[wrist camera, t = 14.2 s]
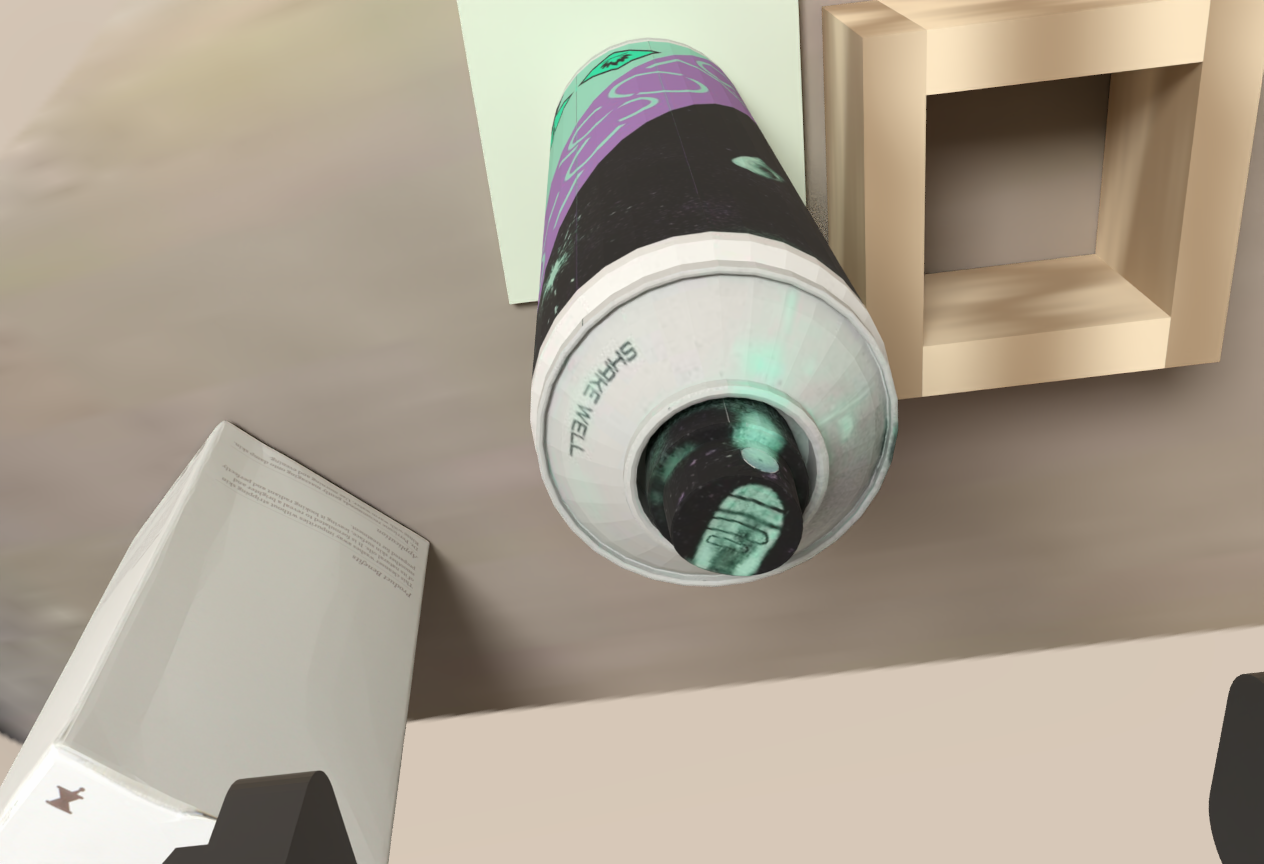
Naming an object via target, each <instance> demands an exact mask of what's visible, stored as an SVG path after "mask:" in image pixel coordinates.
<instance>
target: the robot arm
mask: <svg viewBox="0 0 1264 864" xmlns="http://www.w3.org/2000/svg"><path fill="white" fill-rule="evenodd" d="M1209 817H1210V825H1211V830H1212V834H1213V839H1214V842H1215V845H1216V848H1217V851H1218V854H1219V857H1220V859H1221V861H1222V864H1264V672H1259V673H1250V674H1242V675H1240V676H1238V677H1237V678H1236V679H1235V680H1234V681H1233V683H1232V685H1231V687H1230V691H1229V695H1228V700H1227V705H1226V711H1225V716H1224V721H1223V727H1222V732H1221V737H1220V743H1219V748H1218V753H1217V759H1216V764H1215V770H1214V775H1213V780H1212V785H1211V790H1210V798H1209ZM162 864H357V862H356V859H355V855H354V852H353V849H352V846H351V843H350V840H349V837H348V834H347V831H346V827H345V824H344V821H343V818H342V815H341V812H340V809H339V806H338V803H337V800H336V796H335V793H334V790H333V787H332V785H331V782H330V780H329V778H328V776H327V775H326V774H325V772H323V771H321V770H320V771H309V772H300V773H290V774H281V775H272V776H262V777H253V778H244V779H238V780H236V781H235V782H234V783H233V784H232V785H231V786H230V788H229V790H228V792H227V794H226V796H225V799H224V801H223V804H222V807H221V810H220V812H219V815H218V818H217V821H216V823H215V826H214V829H213V831H212V834H211V837H210V840H209V842H208V844H206V845H197V846H187V847H178V848H175V849H174V850H173V851H172V853H171V854H170V855H169V856H168V857H167V859H166V860H165V861H164V862H163V863H162Z"/></svg>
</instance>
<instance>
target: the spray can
mask: <svg viewBox="0 0 1264 864" xmlns="http://www.w3.org/2000/svg"><path fill="white" fill-rule="evenodd" d="M530 422H531V428H532V433H533V438H534V443H535V448H536V453H537V456H538V461H539V466H540V472H541V477H542V479H543V482H544V484H545V486H546V489H547V491H548V493H549V495H550V498H551V500H552V502H553V505H554V506H555V508H556V509H557V510H558V512H559V513H560V515H561V516H562V517H563V519H564V520H565V522H566V523H567V524H568V526H569V527H570V528H571V530H572V531H573V532H574V533H575V534H576V535H577V536H579V537H580V538H581V539H582V540H583V541H584V542H585V543H586V544H587V545H588V546H590V547H591V548H592V549H593V550H594V551H595V552H597V553H598V554H600V555H602V556H603V557H605V558H607V559H608V560H610V561H611V562H613V563H615V564H616V565H618V566H620V567H621V568H624V569H626V570H629V571H631V572H634V573H637V574H639V575H642V576H644V577H647V578H650V579H653V580H658V581H663V582H668V583H673V584H678V585H683V586H712V587H717V586H725V585H733V584H741V583H748V582H752V581H756V580H759V579H762V578H766V577H769V576H773V575H776V574H779V573H782V572H784V571H786V570H788V569H790V568H793V567H795V566H797V565H799V564H801V563H803V562H805V561H807V560H809V559H811V558H813V557H814V556H815V555H817V554H818V553H820V552H821V551H823V550H824V549H825V548H827V547H828V546H830V545H831V544H833V543H834V542H835V541H837V540H838V539H839V538H840V537H841V536H842V535H843V534H844V533H845V532H846V531H847V530H848V529H849V528H850V527H851V526H852V525H853V524H854V523H855V522H856V521H857V520H858V519H859V518H860V517H861V516H862V515H863V513H864V512H865V510H866V509H867V507H868V506H869V504H870V503H871V501H872V500H873V499H874V497H875V496H876V494H877V493H878V491H879V490H880V487H881V485H882V483H883V480H884V478H885V476H886V474H887V471H888V469H889V467H890V464H891V462H892V458H893V453H894V448H895V443H896V438H897V434H898V398H897V394H896V390H895V386H894V382H893V378H892V374H891V370H890V366H889V362H888V358H887V354H886V350H885V346H884V342H883V340H882V338H881V336H880V334H879V332H878V330H877V328H876V326H875V324H874V322H873V320H872V318H871V316H870V314H869V313H868V311H867V309H866V307H865V306H864V304H863V302H862V301H861V299H860V297H859V296H858V294H857V292H856V291H855V289H854V287H853V285H852V284H851V282H850V280H849V279H848V277H847V275H846V274H845V272H844V270H843V269H842V267H841V265H840V264H839V262H838V260H837V258H836V257H835V255H834V253H833V252H832V250H831V248H830V247H829V245H828V243H827V242H826V240H825V238H824V237H823V235H822V233H821V231H820V230H819V228H818V226H817V225H816V223H815V221H814V220H813V218H812V216H811V215H810V213H809V211H808V209H807V208H806V206H805V204H804V203H803V201H802V199H801V198H800V196H799V194H798V193H797V191H796V189H795V188H794V186H793V184H792V182H791V181H790V179H789V177H788V176H787V174H786V172H785V171H784V169H783V167H782V166H781V164H780V162H779V161H778V159H777V157H776V155H775V154H774V152H773V150H772V149H771V147H770V145H769V144H768V142H767V140H766V139H765V137H764V135H763V133H762V132H761V130H760V128H759V127H758V125H757V123H756V122H755V120H754V118H753V117H752V115H751V113H750V112H749V110H748V108H747V106H746V105H745V103H744V101H743V100H742V98H741V96H740V95H739V93H738V91H737V90H736V88H735V86H734V85H733V83H732V82H731V80H730V79H729V78H728V77H727V75H726V74H725V73H724V72H723V71H722V69H721V68H720V67H719V66H718V65H717V64H715V63H714V62H713V61H712V60H710V59H709V58H708V57H707V56H706V55H704V54H703V53H701V52H700V51H698V50H696V49H694V48H692V47H690V46H688V45H686V44H683V43H679V42H676V41H672V40H669V39H660V38H641V39H634V40H627V41H624V42H622V43H619V44H616V45H613V46H610V47H608V48H606V49H605V50H603V51H601V52H600V53H598V54H597V55H595V56H593V57H592V58H591V59H589V60H588V61H587V62H586V63H585V64H584V65H583V66H582V67H581V68H580V69H579V70H578V71H577V72H576V73H575V75H574V76H573V77H572V79H571V80H570V82H569V83H568V84H567V86H566V87H565V89H564V92H563V94H562V96H561V98H560V100H559V102H558V105H557V108H556V112H555V116H554V120H553V124H552V132H551V144H550V157H549V170H548V183H547V196H546V208H545V221H544V234H543V247H542V259H541V272H540V285H539V298H538V310H537V323H536V336H535V349H534V362H533V374H532V387H531V417H530Z"/></svg>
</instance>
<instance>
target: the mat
mask: <svg viewBox="0 0 1264 864" xmlns="http://www.w3.org/2000/svg"><path fill="white" fill-rule="evenodd" d="M457 4H458V10H459V16H460V21H461V27H462V33H463V39H464V44H465V50H466V56H467V62H468V67H469V73H470V79H471V85H472V90H473V96H474V102H475V108H476V113H477V119H478V125H479V131H480V136H481V142H482V148H483V154H484V159H485V165H486V171H487V177H488V182H489V188H490V194H491V200H492V205H493V211H494V217H495V223H496V228H497V234H498V240H499V246H500V251H501V257H502V263H503V269H504V274H505V280H506V286H507V292H508V297H509V303H510V304H516V303H524V302H533V301H538V298H539V285H540V272H541V259H542V247H543V234H544V221H545V208H546V196H547V183H548V170H549V157H550V144H551V132H552V124H553V120H554V116H555V112H556V108H557V105H558V102H559V100H560V98H561V96H562V94H563V92H564V89H565V87H566V86H567V84H568V83H569V82H570V80H571V79H572V77H573V76H574V75H575V73H576V72H577V71H578V70H579V69H580V68H581V67H582V66H583V65H584V64H585V63H586V62H587V61H588V60H589V59H591V58H592V57H593V56H595V55H597V54H598V53H600V52H601V51H603V50H605V49H606V48H608V47H610V46H613V45H616V44H619V43H622V42H624V41H627V40H634V39H641V38H660V39H669V40H672V41H676V42H679V43H683V44H686V45H688V46H690V47H692V48H694V49H696V50H698V51H700V52H701V53H703V54H704V55H706V56H707V57H708V58H709V59H710V60H712V61H713V62H714V63H715V64H717V65H718V66H719V67H720V68H721V69H722V71H723V72H724V73H725V74H726V75H727V77H728V78H729V79H730V80H731V82H732V83H733V85H734V86H735V88H736V90H737V91H738V93H739V95H740V96H741V98H742V100H743V101H744V103H745V105H746V106H747V108H748V110H749V112H750V113H751V115H752V117H753V118H754V120H755V122H756V123H757V125H758V127H759V128H760V130H761V132H762V133H763V135H764V137H765V139H766V140H767V142H768V144H769V145H770V147H771V149H772V150H773V152H774V154H775V155H776V157H777V159H778V161H779V162H780V164H781V166H782V167H783V169H784V171H785V172H786V174H787V176H788V177H789V179H790V181H791V182H792V184H793V186H794V188H795V189H796V191H797V193H798V194H799V196H800V198H801V199H802V201H803V203H804V204H805V206H806V191H805V165H804V139H803V113H802V87H801V61H800V35H799V9H798V0H457Z"/></svg>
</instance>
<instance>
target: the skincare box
mask: <svg viewBox="0 0 1264 864" xmlns="http://www.w3.org/2000/svg"><path fill="white" fill-rule="evenodd" d="M429 546H430V544H429V542H428V541H427V540H426V539H424V538H423V537H421V536H419V535H418V534H416V533H414V532H413V531H411V530H409V529H408V528H406V527H404V526H402V525H401V524H399V523H397V522H396V521H394V520H392V519H391V518H389V517H387V516H386V515H384V514H382V513H381V512H379V511H377V510H376V509H374V508H372V507H371V506H369V505H367V504H366V503H364V502H362V501H361V500H359V499H357V498H356V497H354V496H352V495H351V494H349V493H347V492H345V491H344V490H342V489H340V488H339V487H337V486H335V485H334V484H332V483H330V482H329V481H327V480H325V479H324V478H322V477H320V476H319V475H317V474H315V473H314V472H312V471H310V470H309V469H307V468H305V467H304V466H302V465H300V464H299V463H297V462H295V461H294V460H292V459H290V458H288V457H287V456H285V455H283V454H281V453H279V452H278V451H276V450H274V449H272V448H270V447H269V446H267V445H265V444H263V443H262V442H260V441H258V440H257V439H255V438H254V437H252V436H250V435H249V434H247V433H246V432H244V431H242V430H241V429H239V428H238V427H236V426H235V425H233V424H231V423H230V422H228V421H222V422H221V423H220V424H219V425H218V426H217V427H216V428H215V429H214V431H213V432H212V433H211V435H210V436H209V437H208V439H207V440H206V442H205V443H204V444H203V446H202V447H201V448H200V450H199V451H198V452H197V454H196V455H195V456H194V458H193V459H192V460H191V462H190V463H189V464H188V466H187V467H186V468H185V470H184V471H183V472H182V474H181V475H180V476H179V478H178V479H177V480H176V482H175V483H174V485H173V486H172V487H171V489H170V490H169V491H168V493H167V494H166V495H165V497H164V498H163V499H162V501H161V502H160V504H159V505H158V506H157V508H156V509H155V510H154V512H153V513H152V514H151V516H150V517H149V519H148V520H147V521H146V523H145V524H144V525H143V527H142V528H141V530H140V531H139V532H138V534H137V535H136V537H135V538H134V539H133V541H132V543H131V545H130V547H129V549H128V550H127V552H126V554H125V556H124V558H123V560H122V561H121V563H120V565H119V567H118V569H117V571H116V572H115V574H114V576H113V578H112V580H111V582H110V583H109V585H108V587H107V589H106V591H105V593H104V595H103V597H102V598H101V600H100V602H99V604H98V606H97V608H96V610H95V612H94V613H93V615H92V617H91V619H90V621H89V623H88V625H87V627H86V629H85V631H84V632H83V634H82V636H81V638H80V640H79V642H78V644H77V646H76V648H75V650H74V652H73V653H72V655H71V657H70V659H69V661H68V663H67V665H66V667H65V668H64V670H63V672H62V674H61V676H60V678H59V680H58V682H57V683H56V685H55V687H54V689H53V691H52V693H51V694H50V696H49V698H48V700H47V702H46V704H45V706H44V708H43V709H42V711H41V713H40V715H39V717H38V719H37V720H36V722H35V724H34V726H33V728H32V730H31V732H30V733H29V735H28V737H27V739H26V741H25V743H24V744H23V746H22V748H21V750H20V752H19V754H18V755H17V757H16V759H15V761H14V763H13V765H12V767H11V769H10V770H9V772H8V774H7V776H6V778H5V780H4V782H3V784H2V785H1V787H0V864H162V863H163V862H164V861H165V860H166V859H167V857H168V856H169V855H170V854H171V853H172V851H173V850H174V849H175V848H178V847H187V846H197V845H206V844H208V842H209V840H210V837H211V834H212V831H213V829H214V826H215V823H216V821H217V818H218V815H219V812H220V810H221V807H222V804H223V801H224V799H225V796H226V794H227V792H228V790H229V788H230V786H231V785H232V784H233V783H234V782H235V781H236V780H238V779H244V778H253V777H262V776H272V775H281V774H290V773H300V772H309V771H320V770H321V771H323V772H325V774H326V775H327V776H328V778H329V780H330V782H331V785H332V787H333V790H334V793H335V796H336V800H337V803H338V806H339V809H340V812H341V815H342V818H343V821H344V824H345V827H346V831H347V834H348V837H349V840H350V843H351V846H352V849H353V852H354V855H355V859H356V862H357V864H388V861H389V853H390V844H391V836H392V828H393V821H394V814H395V806H396V799H397V791H398V783H399V775H400V767H401V759H402V751H403V742H404V735H405V729H406V722H407V714H408V706H409V699H410V691H411V683H412V674H413V666H414V659H415V651H416V643H417V635H418V628H419V620H420V613H421V604H422V596H423V589H424V581H425V573H426V565H427V558H428V551H429Z"/></svg>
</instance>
